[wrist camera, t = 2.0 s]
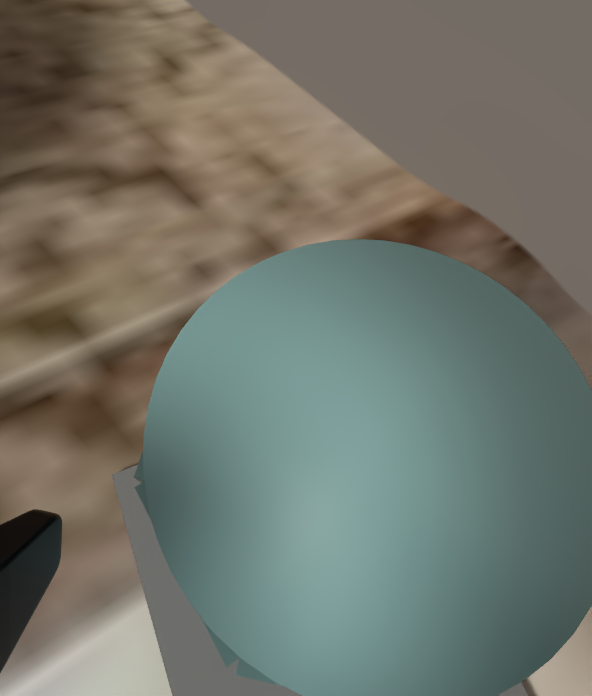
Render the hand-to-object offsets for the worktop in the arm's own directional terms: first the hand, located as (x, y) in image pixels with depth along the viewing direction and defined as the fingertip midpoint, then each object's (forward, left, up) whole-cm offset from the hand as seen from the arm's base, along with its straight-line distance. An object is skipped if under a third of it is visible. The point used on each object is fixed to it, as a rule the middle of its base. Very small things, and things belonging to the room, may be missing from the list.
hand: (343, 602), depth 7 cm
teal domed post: (+2, -1, -10) cm, 10 cm away
